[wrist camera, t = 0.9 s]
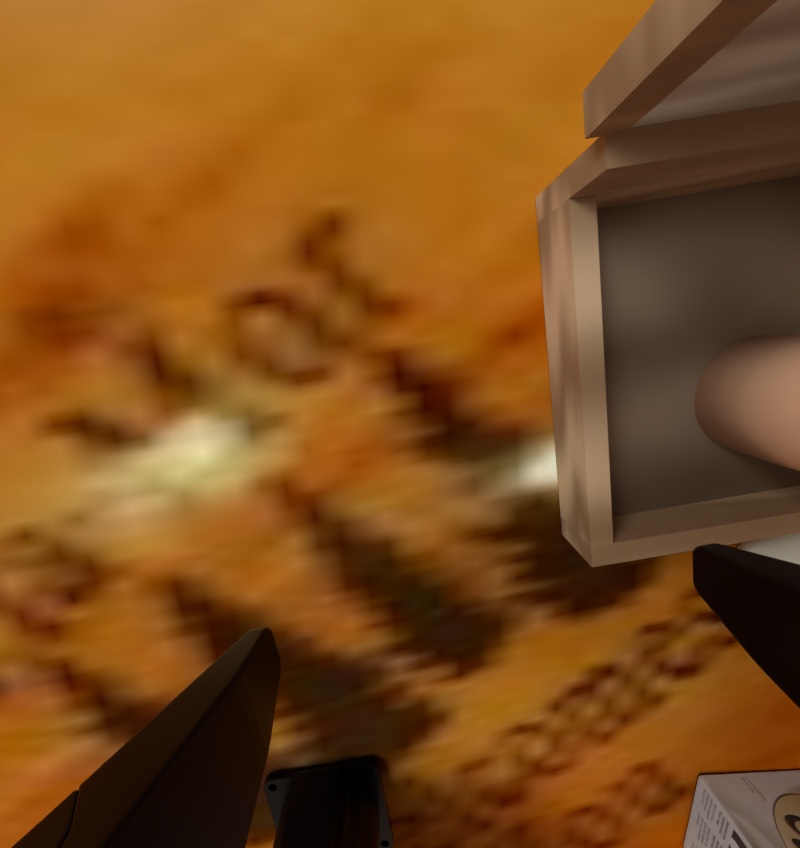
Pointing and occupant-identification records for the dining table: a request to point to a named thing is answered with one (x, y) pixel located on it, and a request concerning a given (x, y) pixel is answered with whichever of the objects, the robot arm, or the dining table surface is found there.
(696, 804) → the coffee box
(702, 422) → the terracotta pot
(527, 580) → the dining table surface
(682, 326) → the open wooden box
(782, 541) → the saucer
